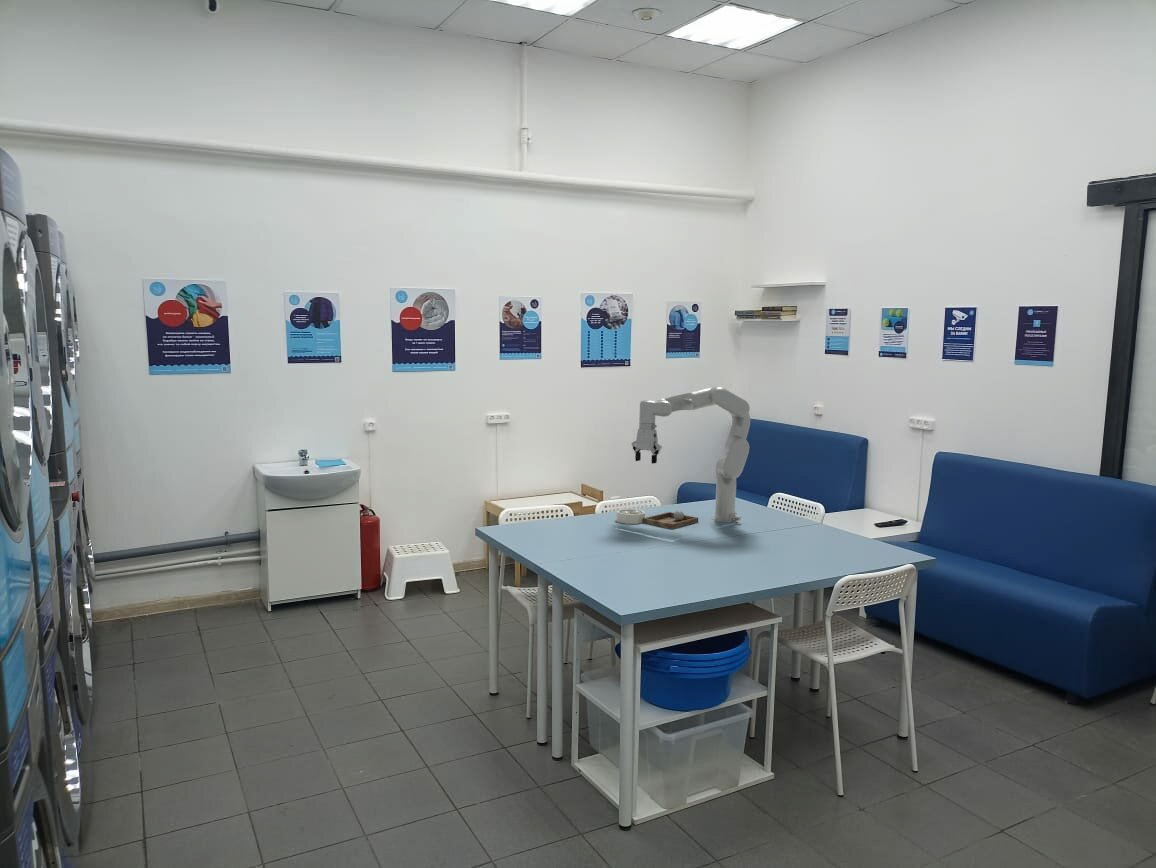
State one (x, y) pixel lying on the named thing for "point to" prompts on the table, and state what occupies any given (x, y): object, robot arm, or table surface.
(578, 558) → the table surface
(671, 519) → the tray
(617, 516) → the bowl
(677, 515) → the pebble
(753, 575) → the table surface
